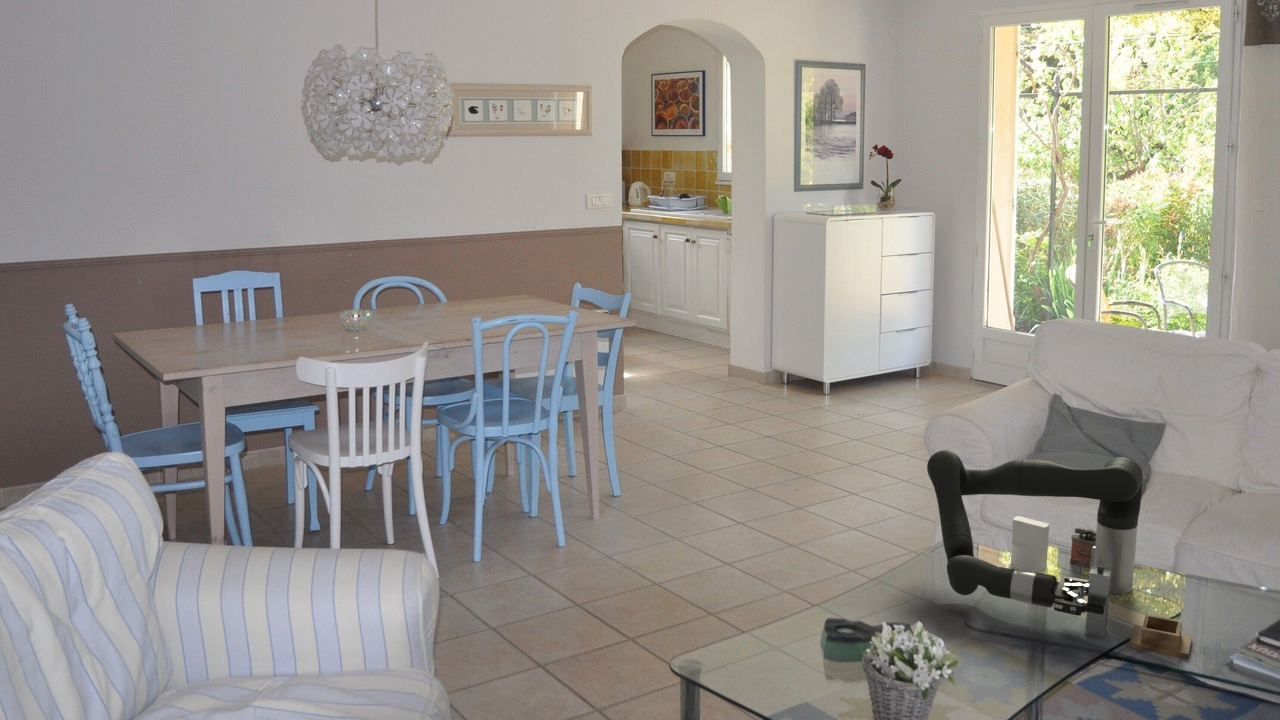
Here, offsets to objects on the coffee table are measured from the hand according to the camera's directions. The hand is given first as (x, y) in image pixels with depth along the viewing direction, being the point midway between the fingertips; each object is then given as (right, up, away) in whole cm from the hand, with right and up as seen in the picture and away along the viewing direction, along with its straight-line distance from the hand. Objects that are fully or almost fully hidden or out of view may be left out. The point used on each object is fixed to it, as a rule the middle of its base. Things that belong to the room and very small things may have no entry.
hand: (1106, 601), depth 256 cm
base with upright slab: (-5, +2, +38) cm, 38 cm away
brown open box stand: (+11, -9, -3) cm, 14 cm away
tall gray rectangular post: (-1, -8, +3) cm, 8 cm away
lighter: (+10, +2, +36) cm, 37 cm away
